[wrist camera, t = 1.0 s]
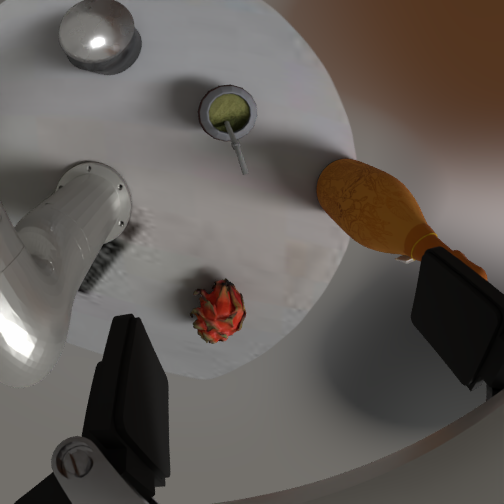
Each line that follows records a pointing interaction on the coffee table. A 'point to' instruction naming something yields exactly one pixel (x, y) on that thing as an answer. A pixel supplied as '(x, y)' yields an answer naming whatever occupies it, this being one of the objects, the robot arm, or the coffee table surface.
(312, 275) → the coffee table surface
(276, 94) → the coffee table surface
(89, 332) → the coffee table surface
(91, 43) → the lid
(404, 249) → the wine bottle
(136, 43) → the dark grey cylinder
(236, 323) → the dragon fruit
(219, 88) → the mate gourd
